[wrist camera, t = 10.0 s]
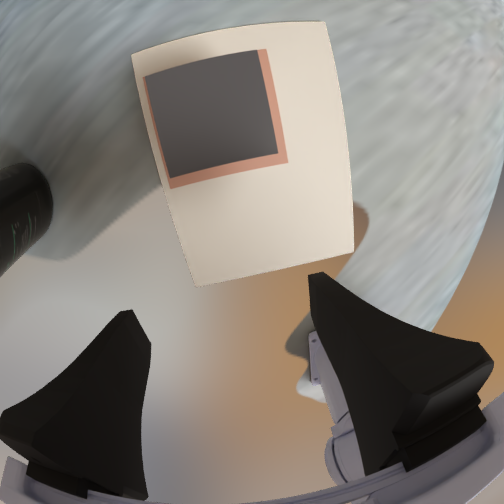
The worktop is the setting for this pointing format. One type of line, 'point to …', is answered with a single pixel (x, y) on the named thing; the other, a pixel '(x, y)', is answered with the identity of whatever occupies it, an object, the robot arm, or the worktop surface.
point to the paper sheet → (264, 159)
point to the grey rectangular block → (212, 112)
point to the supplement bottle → (22, 211)
